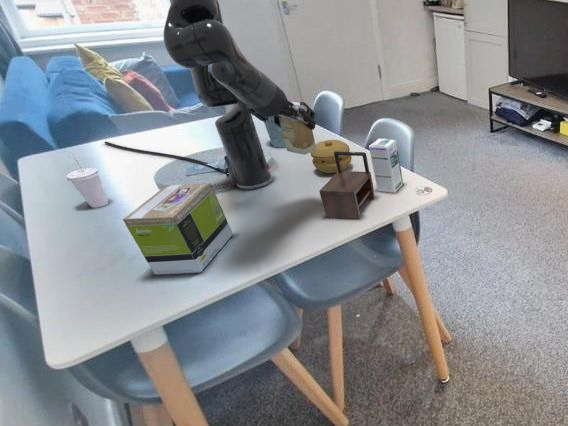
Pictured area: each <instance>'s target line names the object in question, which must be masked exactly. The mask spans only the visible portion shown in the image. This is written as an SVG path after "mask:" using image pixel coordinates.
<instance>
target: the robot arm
mask: <svg viewBox="0 0 568 426" xmlns="http://www.w3.org/2000/svg"><path fill="white" fill-rule="evenodd" d="M169 3H170V5H169V8H168V11H167V16H166V18H165V19H166V20H165V22H164V23H165V24H164V26H163V43H164V48H165V50H166V52H167V54H168V55H169V57H170V58H171V60H172V61H174V63H176V64H177V65H179V66H180V67H182V68H185V69H189V70H190V75H191V78H192V83H193V86H194V90H195V93H196V96H197V98H198V100H199V101H200V103H201V104H202V105H203V106H204V107H206V108H211V109H212V108H220V107H226V106H231V105H233V106H232V108H231V109H230V110H229V111H228V112H226V113H225V114H223V115H222V116H219V117H218V118H217V119H216V120H215V122H214V124H215V128H216V131H217V133H218V137H219V139H220V142H221V144H222V146H223V150H224V152H225V155H224V156H223V159H224V161H225V162H224V163H225V165H226V168H224V169H223V168H220V167H219V166H217V167H218V168H214V169H215V170H217V171H219V172H220V173H222V174H224V175H225V176H229V175H230V178H231V181H232V184H233V186H234V187H237V188H238V189H241V190H255V189H259V188H262V187H265V186H267V185H269V184H270V183H271V182H272V181H273V178H272V174H271V172H270V167H269V164H268V162H267V159H266V156H265V152H264V150H263V147H262V143H261V140H260V138H259V135H258V131H257V128H256V125H255V121H254V118H253V116H254V117H255V118H256V119H258V120H259V121H261V122H263V123H264V122H266V120H269V122H271V123H274V124H276V125H277V126H279V127H280V128H281V126H280V122H279V118H287V119H290V120H292V121H294V122H297V121H299V122H302V123H304V124H305V125H306V126H307V127H308V128H309V129H310V130H312V131H314V130H315V129H316V124H317V122H316V121H315V118H316V112H315V111H314V110H313V109H312V108H311V107H310V106H309V105H308V104H307V103H306V102H304V101H300V102H299V103H300V105H294V104H293V103H292V102H293V101H289V100H288V98H287V95H286V94H285V92H284V90H283V89H281V87H279V86H278V85H277V84H276V83H275V82H274V81H273V80H272V79H271V78H270V77H268V75H266V73H264V72H263V71H261V70H259V69H258V68H257V67H256V66H254V65H253V64H252V62H250V61H249V59H247V58H246V56H245V55H244V54H243V52H242V50H241V49H240V47H239V46H238V44H237V42H236V40H235V38H234V36H233V35H232V33H231V31H230V30H229V29H228V27H227V26H226V25H225V24H224V20H223V16H222V10H221V6H220V1H219V0H169ZM209 65H211V66H210V70H209ZM294 110H295V116H294V117H293V116H292V115H293V112H294ZM300 115H302V116H303V119H302V118H300ZM104 144H105V145H109V146H111V147H114V148H118V149H122V150H128V151H133V152H137V153H143V154H151V155H157V156H162V157H169V158H175V159H180V160H186V161H190V162H194V163H197V164H201V165H204V164H208V162H205V161H202V160H198V159H195V158H190V157H186V156H181V155H176V154H170V153H163V152H157V151H151V150H145V149H140V148H139V149H137V148H132V147H128V146H124V145H119V144H115V143H113V142H109V141H104ZM227 173H229V174H227Z"/></svg>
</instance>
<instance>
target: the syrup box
mask: <svg viewBox="0 0 568 426" xmlns="http://www.w3.org/2000/svg"><path fill="white" fill-rule="evenodd" d="M368 148H369V154H370V160H371V164H372V169H373V174H374V179H375V185H376V188H377V191H378V192H384V193H394V194H395V193H396V192H397V191H398V190H399V189H400V188H401V187H402V186H403V185H404V180H403V175H402V174H403V173H402V168H401V167H402V166H401V162H400V155H399V149H398V141H397V140H396V139H395V138H394V139H393V138H377V140H375V141H374V142H372V143H371V144H370V145H369V146H368Z"/></svg>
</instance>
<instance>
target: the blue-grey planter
mask: <svg viewBox="0 0 568 426" xmlns="http://www.w3.org/2000/svg"><path fill="white" fill-rule="evenodd" d="M263 124H264V127H265V129H266V132H267V134H268V136H269V139H270V142H271V145H272V147H275V148H277V149H278V148H279V149H283V148H286V145H285V141H284V137H283V133H282V130H281V128H280V127H279V126H277V125H276V124H274V123H271V122H269V120H266V122H263Z"/></svg>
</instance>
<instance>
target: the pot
mask: <svg viewBox="0 0 568 426" xmlns="http://www.w3.org/2000/svg"><path fill="white" fill-rule="evenodd" d="M315 145H316V150H314V151H312V152H310V153H309V154H310V156H311V158H312V160H311V162H312V165H313V166H314V167H315V168H316V169H317V170H318V171H320V172H321V173H324V174H336V173H337V172H338V169H337V165H336V160H335V156H334V152H335V151H339V152H351V149H350V146H349V145H348V144H347V143H346V142H344V141H342V140H339V139H327V140H323V141H322V140H321V141H319V142H317V143H315ZM352 157H353V156H348V155H339V160H340V164H341V169H342V171H346V169H347V168H348V167H349V166H350V164H351V162H352V160H353V159H352Z"/></svg>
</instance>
